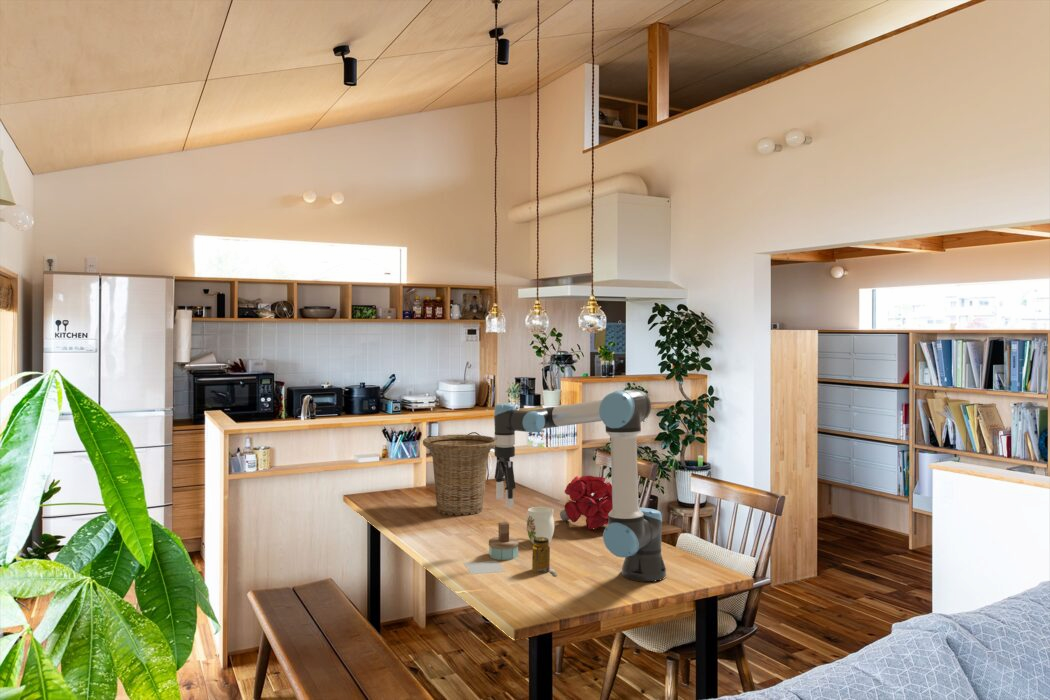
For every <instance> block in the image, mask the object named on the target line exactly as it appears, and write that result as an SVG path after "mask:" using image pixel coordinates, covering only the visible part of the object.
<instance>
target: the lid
mask: <svg viewBox="0 0 1050 700" xmlns="http://www.w3.org/2000/svg"><path fill="white" fill-rule="evenodd" d="M519 542H520V540H519V539H518V538H516V537H511V536H510V523H509V522H508V521H502V522H501V521H500V522H498V536H495V537H491V538H490V539H489V540H488V547H489V546H490V547H492V548H496V549H512V548H515V547H517V546H518V547H519Z"/></svg>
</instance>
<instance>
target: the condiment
mask: <svg viewBox="0 0 1050 700" xmlns="http://www.w3.org/2000/svg"><path fill="white" fill-rule="evenodd" d="M549 544H550V542H549V540H548V538H545V537H537V538H535V539H534V544H533V545H532V552H531V553H532V554H531V555H532V560H531V561H532V562H531V563H532V564H531V566H532V567H531V568H532V569H531V570H532V573H535V574H542V575H543V574H548V573H549V574H551V575H552V576H557V573H556V571H555V569H554V568H550V565H551V563H550V560H551V559H550V557H551V556H550V555H551V553H550V551H551V547H550V545H549Z"/></svg>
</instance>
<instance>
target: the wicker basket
mask: <svg viewBox="0 0 1050 700" xmlns="http://www.w3.org/2000/svg"><path fill="white" fill-rule="evenodd" d="M422 445H423V446H424V447H425V448H426V449H429V450H430V452H431V456H432V464H433V465H432V468H433V477H434V481H433V482H434V491H435V492H434V493H435V501H436V511H437V512H438V513H442V514H443V515H445V514H446V515H449V516H453V515H455V516H458V515H459V516H461V515H463V516H468V515H469V514H470V515H472V514H473V515H475V514H479V513H480V512H483V507H484V499H485V488H486V481H487V480H486V479H487V473H488V471H487V469H488V462H489V461H488V460H489V453H490V451H491V450H492V449H494V447H495V446H496V445H495V440H493V436H489V435H479V434H442V435H434V436H428V437H426V438H424V439H423V440H422Z"/></svg>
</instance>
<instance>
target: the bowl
mask: <svg viewBox="0 0 1050 700" xmlns="http://www.w3.org/2000/svg"><path fill="white" fill-rule="evenodd" d="M488 549H489V551H488V554H489V557H490V558H491V559H494V560H496V561H498V560H499V561H508V560H509V561H510V560H513V559H515V558H516V559H517V557H518V556H519V545H518V546H517V547H515V548H512V549H496V548H492V547H490V546H489V545H488Z"/></svg>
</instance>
